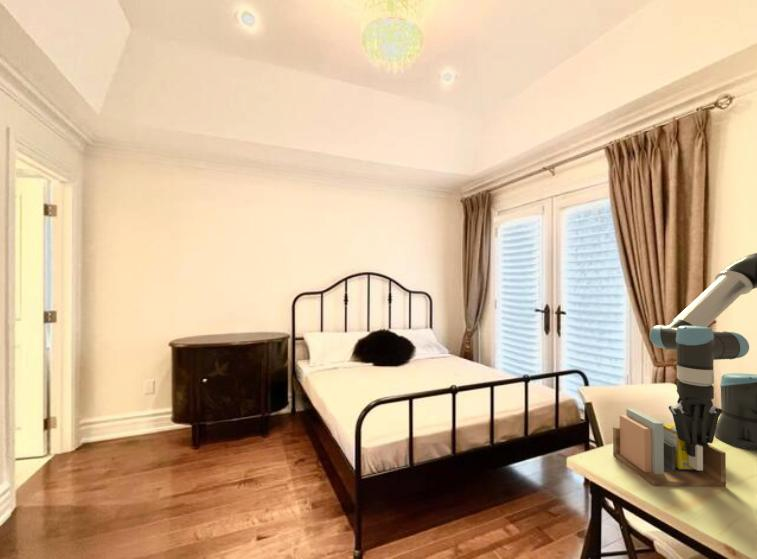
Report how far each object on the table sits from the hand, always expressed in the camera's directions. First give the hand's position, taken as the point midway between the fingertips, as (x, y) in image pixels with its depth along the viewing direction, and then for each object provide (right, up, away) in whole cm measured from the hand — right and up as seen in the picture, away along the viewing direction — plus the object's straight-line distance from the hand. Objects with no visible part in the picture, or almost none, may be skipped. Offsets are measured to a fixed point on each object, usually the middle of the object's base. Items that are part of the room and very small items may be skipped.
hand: (695, 467), depth 94 cm
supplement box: (0, -2, +4) cm, 5 cm away
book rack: (-4, -3, +5) cm, 7 cm away
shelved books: (-11, -2, +6) cm, 12 cm away
